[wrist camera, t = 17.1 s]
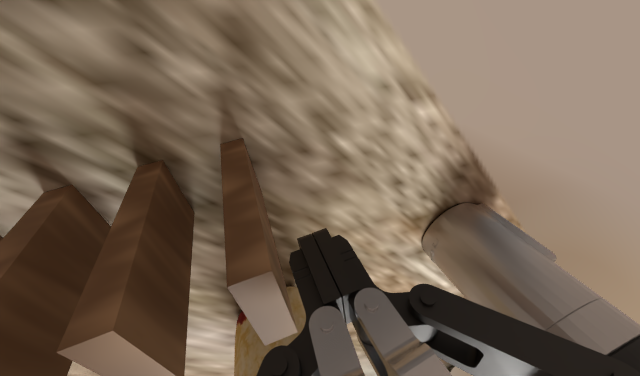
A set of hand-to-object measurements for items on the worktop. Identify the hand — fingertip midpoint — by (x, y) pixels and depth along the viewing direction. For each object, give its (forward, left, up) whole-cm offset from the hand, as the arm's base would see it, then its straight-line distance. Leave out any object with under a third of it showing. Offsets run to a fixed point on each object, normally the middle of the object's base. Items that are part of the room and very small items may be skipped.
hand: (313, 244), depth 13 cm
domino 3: (+3, 0, -10) cm, 10 cm away
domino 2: (+8, 0, -10) cm, 13 cm away
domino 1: (+14, 0, -10) cm, 17 cm away
